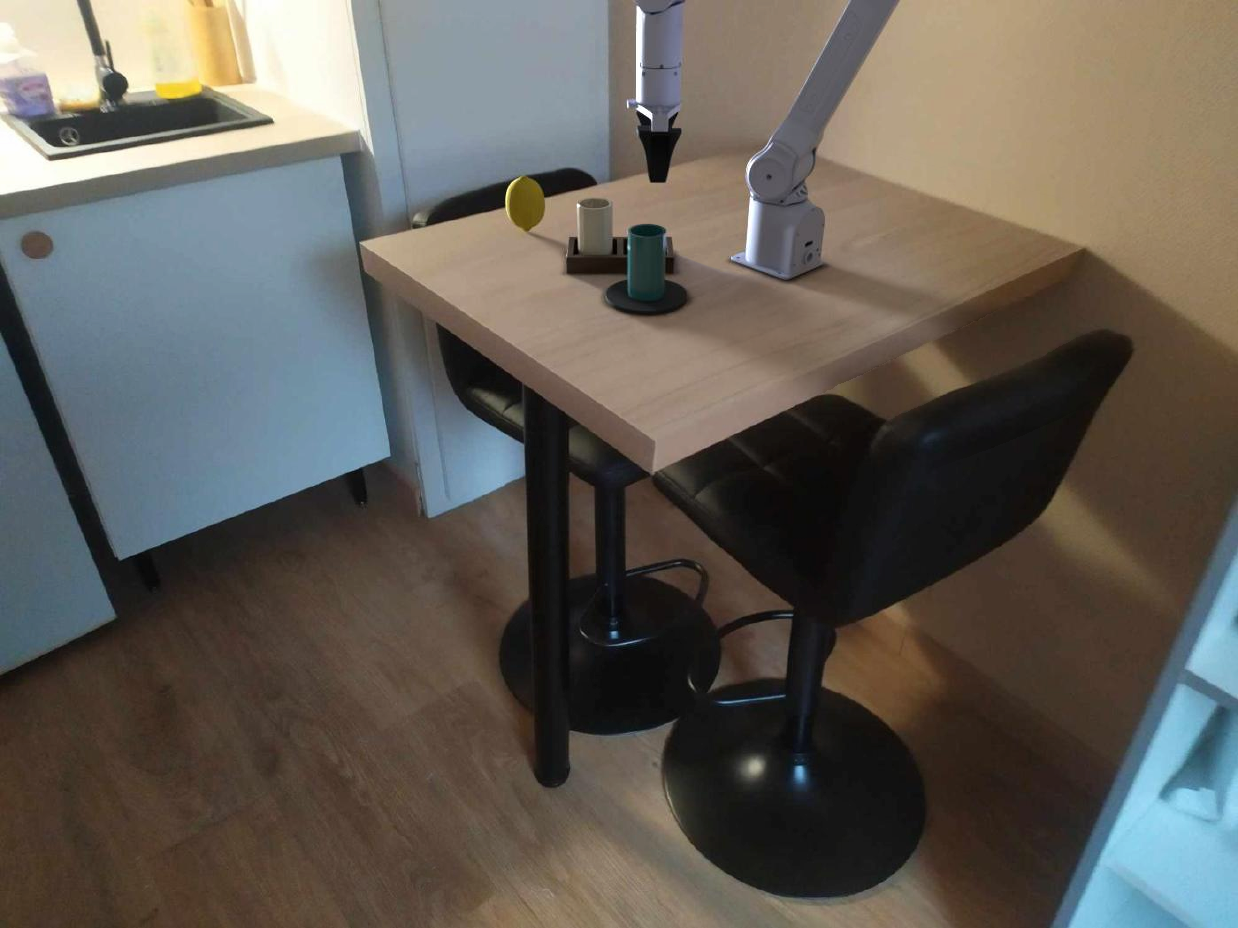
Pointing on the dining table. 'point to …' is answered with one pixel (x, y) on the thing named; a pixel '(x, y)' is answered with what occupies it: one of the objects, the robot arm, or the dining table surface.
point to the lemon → (525, 203)
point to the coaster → (669, 302)
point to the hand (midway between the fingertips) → (656, 173)
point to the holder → (609, 258)
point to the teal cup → (646, 262)
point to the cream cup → (595, 226)
